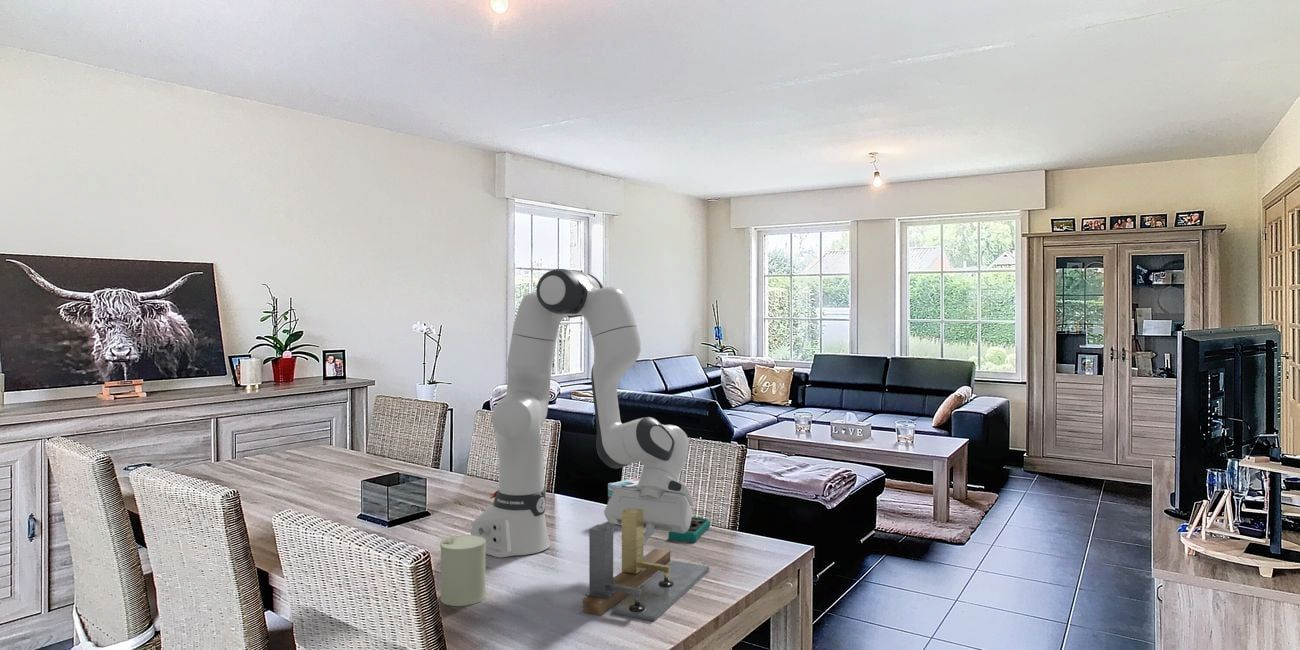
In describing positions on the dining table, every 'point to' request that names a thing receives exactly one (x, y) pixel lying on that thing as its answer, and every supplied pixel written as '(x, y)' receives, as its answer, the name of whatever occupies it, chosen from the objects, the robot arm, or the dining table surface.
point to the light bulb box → (622, 483)
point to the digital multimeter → (692, 530)
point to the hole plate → (661, 591)
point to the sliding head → (636, 544)
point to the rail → (626, 583)
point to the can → (463, 570)
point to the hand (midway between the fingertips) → (637, 543)
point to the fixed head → (604, 566)
